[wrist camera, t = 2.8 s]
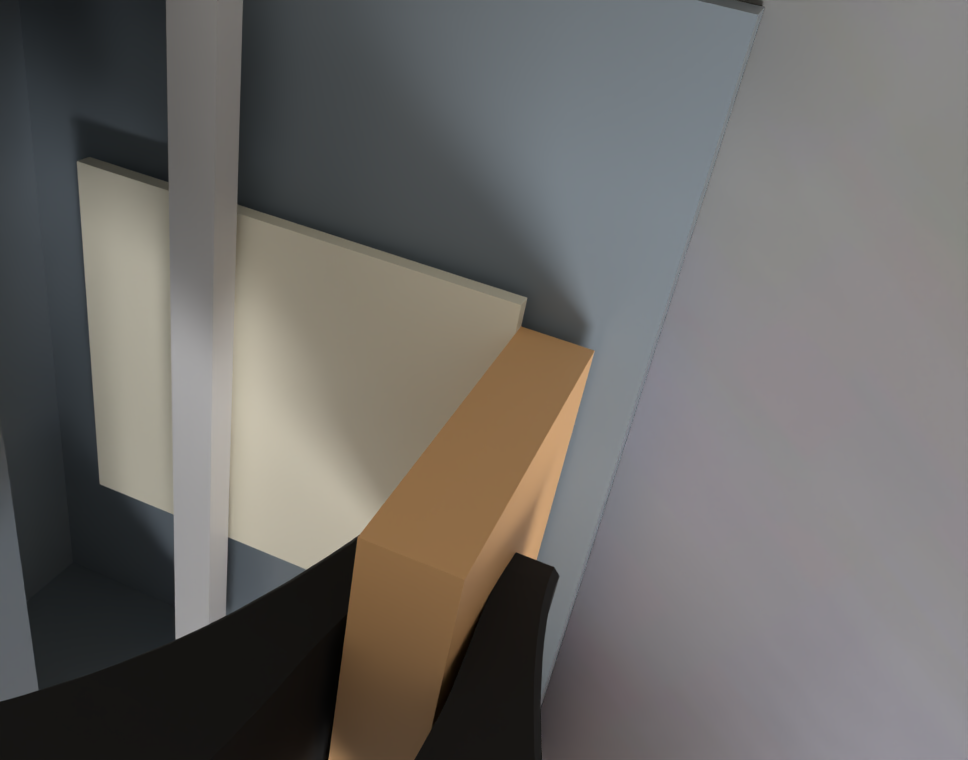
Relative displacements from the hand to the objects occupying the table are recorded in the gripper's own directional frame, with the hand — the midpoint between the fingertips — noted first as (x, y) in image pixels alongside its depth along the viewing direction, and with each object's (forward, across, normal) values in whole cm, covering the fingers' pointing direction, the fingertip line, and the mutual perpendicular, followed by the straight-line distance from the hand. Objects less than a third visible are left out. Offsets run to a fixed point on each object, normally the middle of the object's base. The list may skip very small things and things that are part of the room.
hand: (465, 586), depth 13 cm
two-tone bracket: (+3, +4, 0) cm, 5 cm away
